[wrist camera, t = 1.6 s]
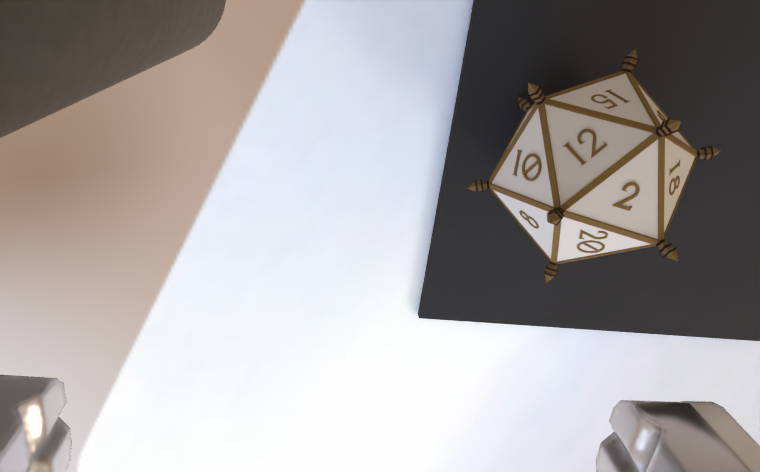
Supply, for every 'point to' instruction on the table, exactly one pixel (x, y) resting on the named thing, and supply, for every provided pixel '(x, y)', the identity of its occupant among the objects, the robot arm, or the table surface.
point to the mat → (697, 204)
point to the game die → (594, 169)
